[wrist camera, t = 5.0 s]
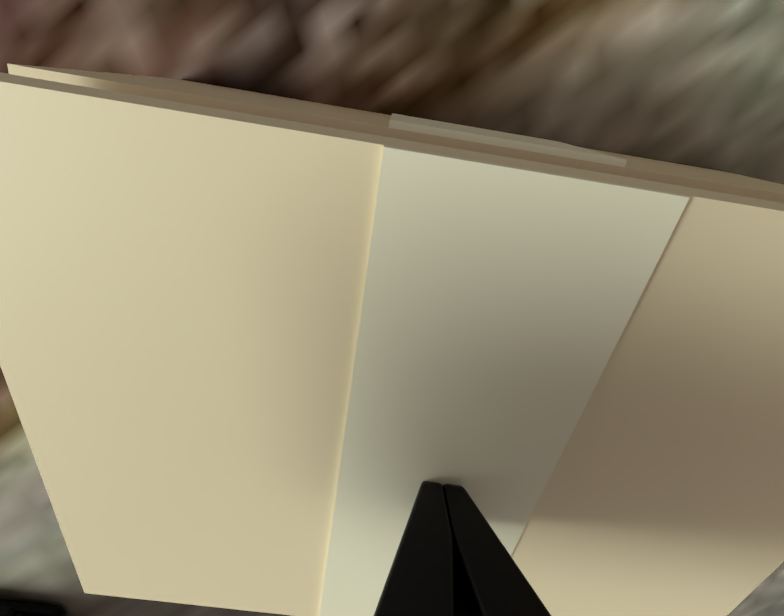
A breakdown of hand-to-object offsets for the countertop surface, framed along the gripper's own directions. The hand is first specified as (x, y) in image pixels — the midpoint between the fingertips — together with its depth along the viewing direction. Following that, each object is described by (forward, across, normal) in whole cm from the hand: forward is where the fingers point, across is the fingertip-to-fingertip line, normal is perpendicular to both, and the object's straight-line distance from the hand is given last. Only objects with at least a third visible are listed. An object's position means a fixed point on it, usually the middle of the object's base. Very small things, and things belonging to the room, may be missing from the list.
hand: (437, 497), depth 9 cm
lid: (+1, 0, -1) cm, 1 cm away
